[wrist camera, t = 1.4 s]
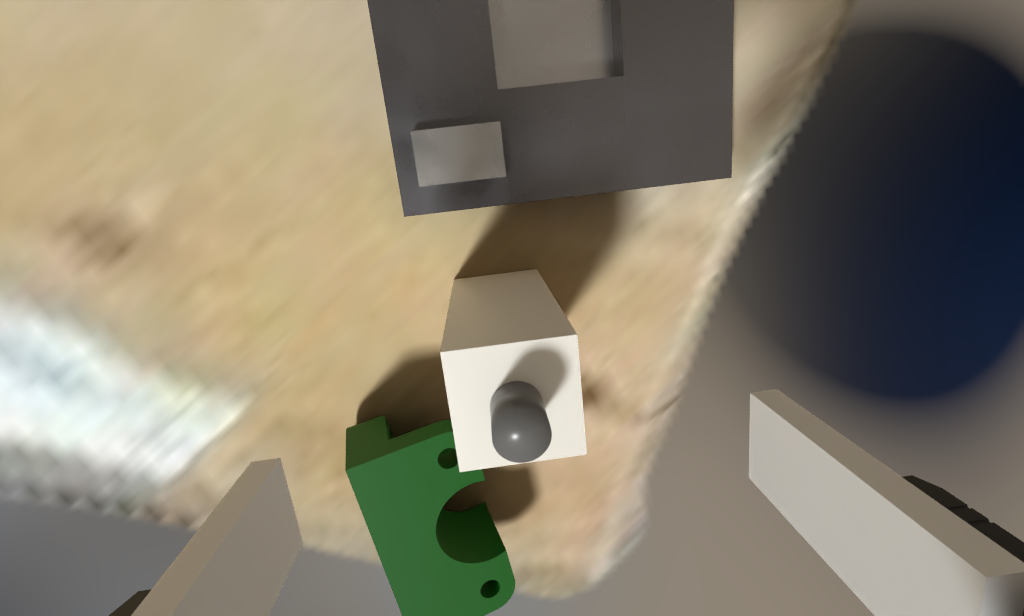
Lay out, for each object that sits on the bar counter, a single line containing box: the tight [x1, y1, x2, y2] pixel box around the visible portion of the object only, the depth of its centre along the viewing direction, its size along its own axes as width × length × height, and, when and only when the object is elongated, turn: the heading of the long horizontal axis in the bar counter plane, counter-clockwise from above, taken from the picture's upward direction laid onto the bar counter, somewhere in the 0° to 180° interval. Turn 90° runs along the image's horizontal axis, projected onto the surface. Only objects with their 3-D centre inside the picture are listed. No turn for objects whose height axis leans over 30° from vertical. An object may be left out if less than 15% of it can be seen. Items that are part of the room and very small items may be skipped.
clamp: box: [346, 415, 515, 616], centre depth 27 cm, size 12×6×9 cm, turn 7°
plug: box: [440, 269, 587, 472], centre depth 21 cm, size 4×4×13 cm
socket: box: [367, 0, 734, 217], centre depth 22 cm, size 16×16×3 cm
